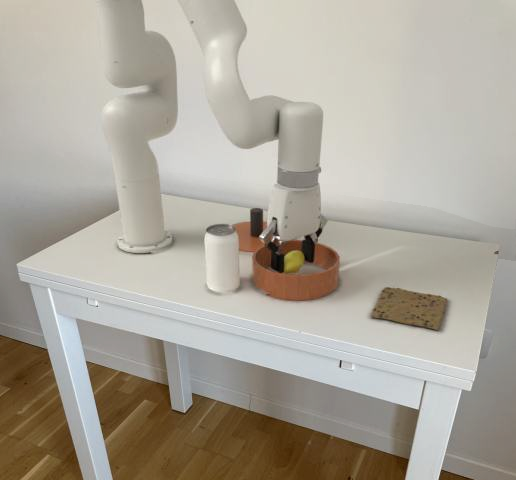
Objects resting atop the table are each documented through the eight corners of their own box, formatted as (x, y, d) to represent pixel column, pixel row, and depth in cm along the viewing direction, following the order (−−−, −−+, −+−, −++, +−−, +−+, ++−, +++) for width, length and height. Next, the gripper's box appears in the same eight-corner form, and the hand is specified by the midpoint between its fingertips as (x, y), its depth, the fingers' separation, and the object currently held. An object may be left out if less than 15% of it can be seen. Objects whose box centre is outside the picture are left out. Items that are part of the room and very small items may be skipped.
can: (227, 297, 103) (225, 238, 97) (200, 289, 106) (196, 231, 100) (246, 284, 108) (245, 227, 101) (219, 276, 111) (217, 220, 104)
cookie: (439, 331, 93) (440, 326, 92) (370, 317, 97) (370, 312, 96) (447, 300, 102) (448, 295, 101) (384, 288, 106) (384, 284, 105)
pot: (235, 277, 111) (235, 253, 108) (299, 255, 119) (300, 233, 117) (290, 309, 99) (290, 284, 96) (355, 283, 108) (358, 259, 105)
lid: (204, 236, 129) (202, 207, 125) (263, 220, 138) (263, 192, 134) (248, 261, 117) (248, 230, 113) (310, 241, 126) (312, 212, 122)
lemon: (309, 265, 111) (310, 247, 109) (293, 281, 105) (294, 262, 103) (290, 261, 112) (291, 243, 110) (273, 276, 106) (274, 258, 104)
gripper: (318, 164, 105) (312, 249, 115) (247, 179, 96) (246, 269, 106) (346, 174, 100) (336, 261, 110) (273, 191, 91) (270, 284, 101)
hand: (292, 264), depth 108 cm, fingers closed on lemon, 7 cm apart
